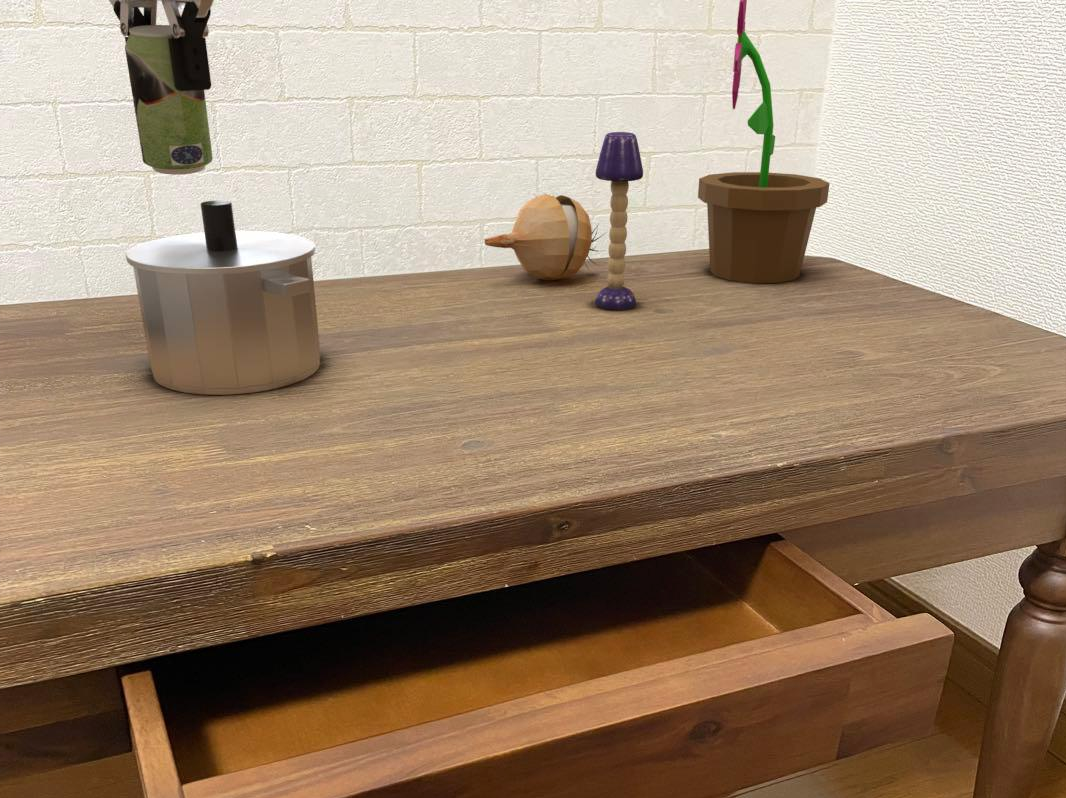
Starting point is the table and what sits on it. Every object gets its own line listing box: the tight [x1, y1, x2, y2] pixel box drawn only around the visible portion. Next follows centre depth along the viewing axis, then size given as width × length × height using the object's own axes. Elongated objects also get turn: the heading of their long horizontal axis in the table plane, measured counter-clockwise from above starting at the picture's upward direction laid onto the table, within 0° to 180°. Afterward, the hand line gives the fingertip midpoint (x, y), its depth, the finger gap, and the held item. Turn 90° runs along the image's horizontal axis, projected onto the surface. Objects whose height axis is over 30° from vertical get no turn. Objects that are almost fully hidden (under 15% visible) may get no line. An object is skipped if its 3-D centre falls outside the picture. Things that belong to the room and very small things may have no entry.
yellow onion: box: [483, 193, 608, 282], centre depth 115 cm, size 9×9×15 cm
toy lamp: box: [594, 131, 644, 311], centre depth 103 cm, size 5×5×17 cm
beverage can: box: [124, 24, 214, 176], centre depth 91 cm, size 6×7×12 cm
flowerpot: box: [697, 0, 831, 284], centre depth 114 cm, size 14×14×30 cm
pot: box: [132, 256, 322, 396], centre depth 86 cm, size 14×19×10 cm
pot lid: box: [125, 199, 316, 275], centre depth 83 cm, size 15×15×5 cm
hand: (171, 86), depth 90 cm, fingers closed on beverage can, 6 cm apart
